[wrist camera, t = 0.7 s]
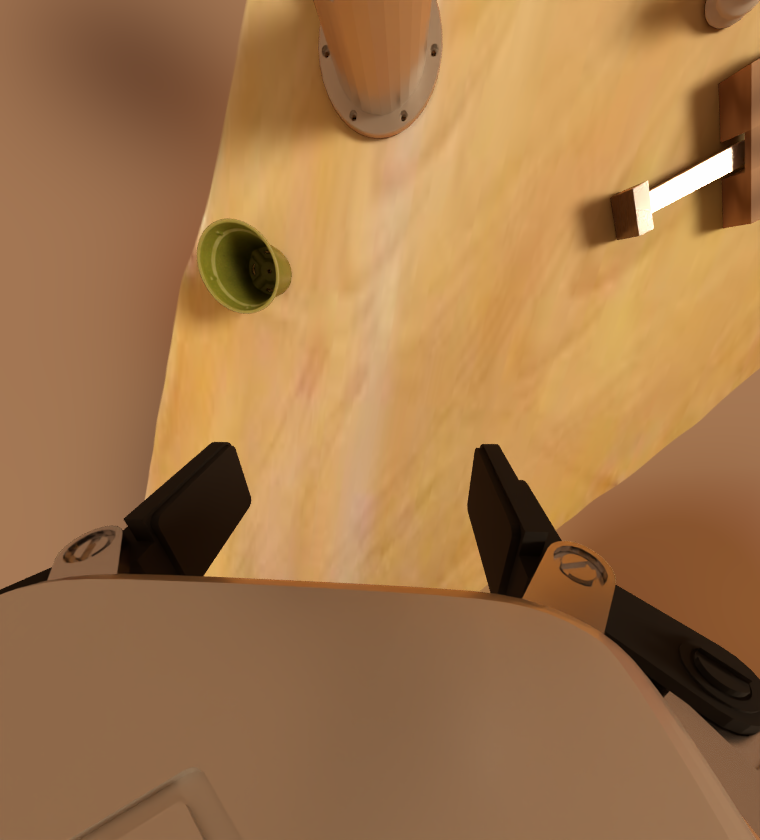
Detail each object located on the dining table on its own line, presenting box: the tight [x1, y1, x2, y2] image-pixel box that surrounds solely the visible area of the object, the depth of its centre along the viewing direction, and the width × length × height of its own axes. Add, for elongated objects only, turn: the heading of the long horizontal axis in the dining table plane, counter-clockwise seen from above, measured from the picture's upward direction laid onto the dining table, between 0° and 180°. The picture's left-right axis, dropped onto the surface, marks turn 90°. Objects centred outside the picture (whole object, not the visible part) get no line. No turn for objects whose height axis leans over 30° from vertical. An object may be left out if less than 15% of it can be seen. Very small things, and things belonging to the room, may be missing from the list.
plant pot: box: [197, 219, 292, 314], centre depth 35 cm, size 9×9×9 cm
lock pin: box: [611, 140, 745, 240], centre depth 31 cm, size 5×11×4 cm, turn 118°
